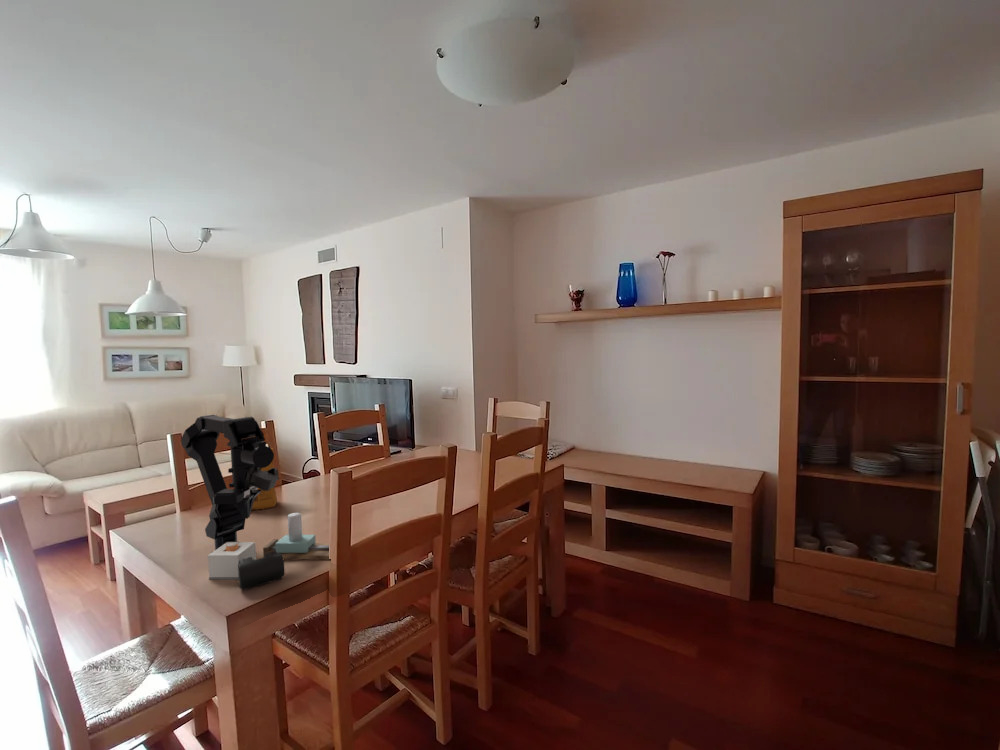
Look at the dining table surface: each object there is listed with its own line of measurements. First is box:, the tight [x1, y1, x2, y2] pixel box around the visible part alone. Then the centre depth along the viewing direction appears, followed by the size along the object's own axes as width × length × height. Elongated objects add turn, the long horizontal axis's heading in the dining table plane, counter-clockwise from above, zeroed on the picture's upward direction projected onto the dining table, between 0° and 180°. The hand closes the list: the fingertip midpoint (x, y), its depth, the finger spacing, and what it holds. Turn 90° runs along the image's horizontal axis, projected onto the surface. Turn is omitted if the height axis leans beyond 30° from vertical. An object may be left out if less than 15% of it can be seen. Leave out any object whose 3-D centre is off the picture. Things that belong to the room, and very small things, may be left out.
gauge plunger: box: [226, 541, 238, 551], centre depth 124 cm, size 3×3×4 cm
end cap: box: [238, 551, 285, 591], centre depth 118 cm, size 10×7×7 cm
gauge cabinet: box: [207, 541, 257, 581], centre depth 124 cm, size 8×8×6 cm
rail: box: [262, 538, 330, 561], centre depth 135 cm, size 21×8×3 cm, turn 88°
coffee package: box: [251, 447, 278, 511], centre depth 175 cm, size 10×12×22 cm
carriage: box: [275, 512, 317, 553], centre depth 135 cm, size 9×6×10 cm, turn 88°
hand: (246, 518), depth 128 cm, fingers closed
